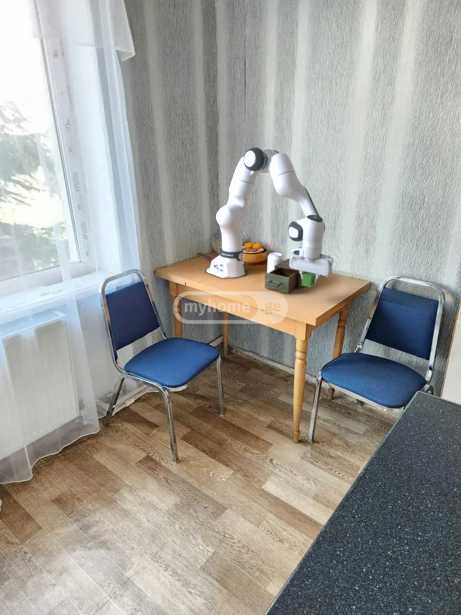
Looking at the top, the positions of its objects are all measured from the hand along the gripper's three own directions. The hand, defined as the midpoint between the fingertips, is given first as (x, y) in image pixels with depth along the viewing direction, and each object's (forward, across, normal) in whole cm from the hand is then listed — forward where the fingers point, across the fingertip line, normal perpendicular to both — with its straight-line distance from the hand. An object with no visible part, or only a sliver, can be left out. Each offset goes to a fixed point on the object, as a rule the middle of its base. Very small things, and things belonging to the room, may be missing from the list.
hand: (309, 280), depth 185 cm
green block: (+2, 0, 0) cm, 2 cm away
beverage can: (+10, +31, -21) cm, 39 cm away
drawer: (+9, +18, -5) cm, 20 cm away
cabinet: (+10, +18, -18) cm, 27 cm away
